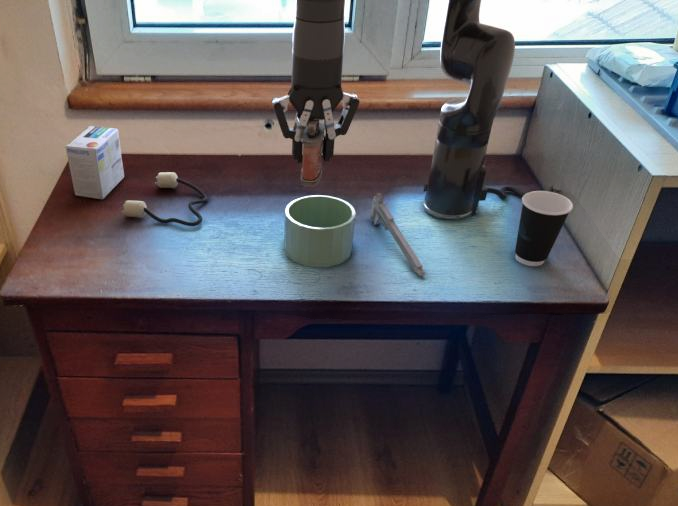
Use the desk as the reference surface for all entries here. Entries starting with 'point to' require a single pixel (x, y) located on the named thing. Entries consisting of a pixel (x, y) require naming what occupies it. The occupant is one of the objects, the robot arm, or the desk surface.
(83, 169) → the light bulb box
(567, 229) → the desk surface
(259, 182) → the desk surface
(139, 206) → the cable
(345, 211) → the pencil cup
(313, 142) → the lighter
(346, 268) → the desk surface
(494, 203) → the desk surface
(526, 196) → the dixie cup
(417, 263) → the caliper
